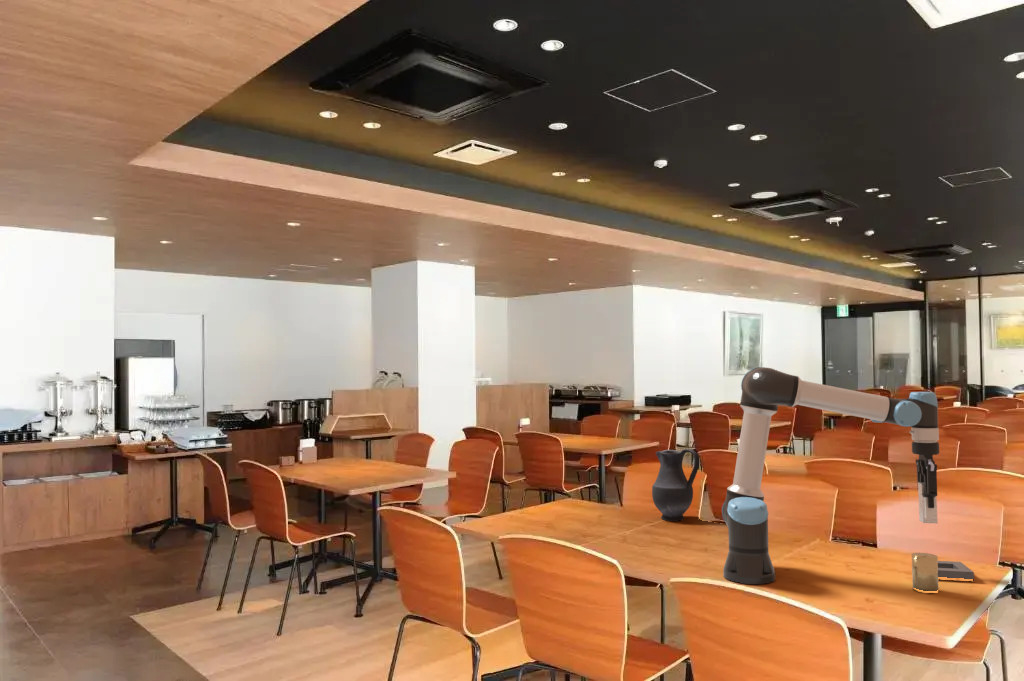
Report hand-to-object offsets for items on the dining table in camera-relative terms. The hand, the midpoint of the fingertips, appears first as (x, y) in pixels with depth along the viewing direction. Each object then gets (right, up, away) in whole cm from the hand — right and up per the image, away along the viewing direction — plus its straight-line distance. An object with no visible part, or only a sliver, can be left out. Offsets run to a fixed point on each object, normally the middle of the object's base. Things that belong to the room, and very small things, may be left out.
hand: (928, 516), depth 234 cm
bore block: (+3, -17, -4) cm, 18 cm away
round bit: (-11, -17, -19) cm, 28 cm away
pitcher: (-60, -21, +84) cm, 106 cm away
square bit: (0, -2, 0) cm, 2 cm away
